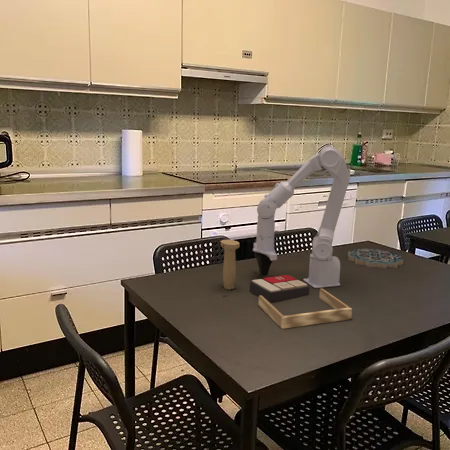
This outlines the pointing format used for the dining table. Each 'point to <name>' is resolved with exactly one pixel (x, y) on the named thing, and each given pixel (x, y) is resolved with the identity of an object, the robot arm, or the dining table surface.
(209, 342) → the dining table surface
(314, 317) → the box
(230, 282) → the handle
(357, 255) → the decorative tile
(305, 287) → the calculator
